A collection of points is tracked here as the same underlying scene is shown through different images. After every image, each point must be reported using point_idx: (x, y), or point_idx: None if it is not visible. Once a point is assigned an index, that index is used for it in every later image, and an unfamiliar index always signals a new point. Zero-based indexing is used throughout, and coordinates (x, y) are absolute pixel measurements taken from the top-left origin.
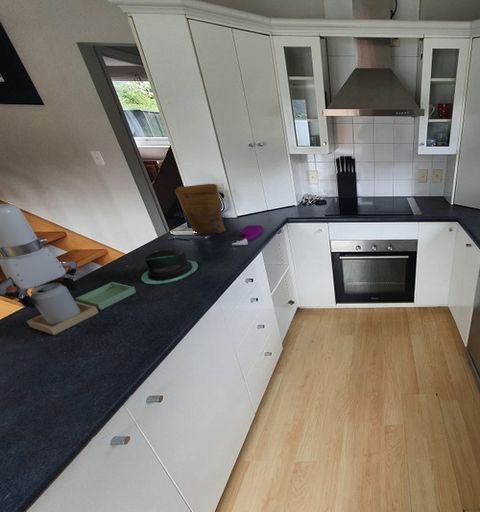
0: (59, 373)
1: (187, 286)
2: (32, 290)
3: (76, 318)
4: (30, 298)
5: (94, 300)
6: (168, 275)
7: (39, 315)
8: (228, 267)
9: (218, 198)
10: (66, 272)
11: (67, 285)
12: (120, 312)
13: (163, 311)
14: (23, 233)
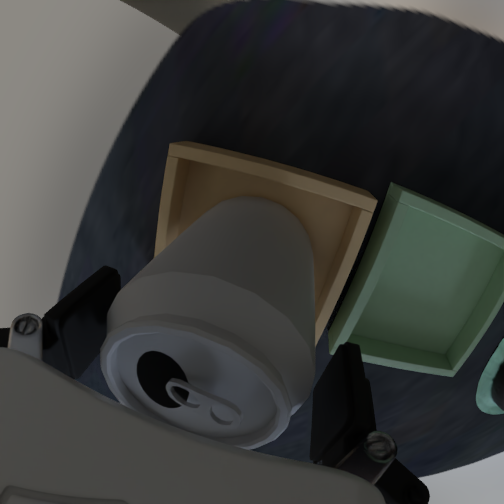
0: (98, 392)
1: (427, 445)
2: (122, 335)
3: None
4: (85, 369)
5: (408, 252)
6: (499, 401)
7: (218, 158)
8: (489, 450)
9: None
10: (383, 488)
11: (334, 387)
12: None
13: (305, 460)
14: None
